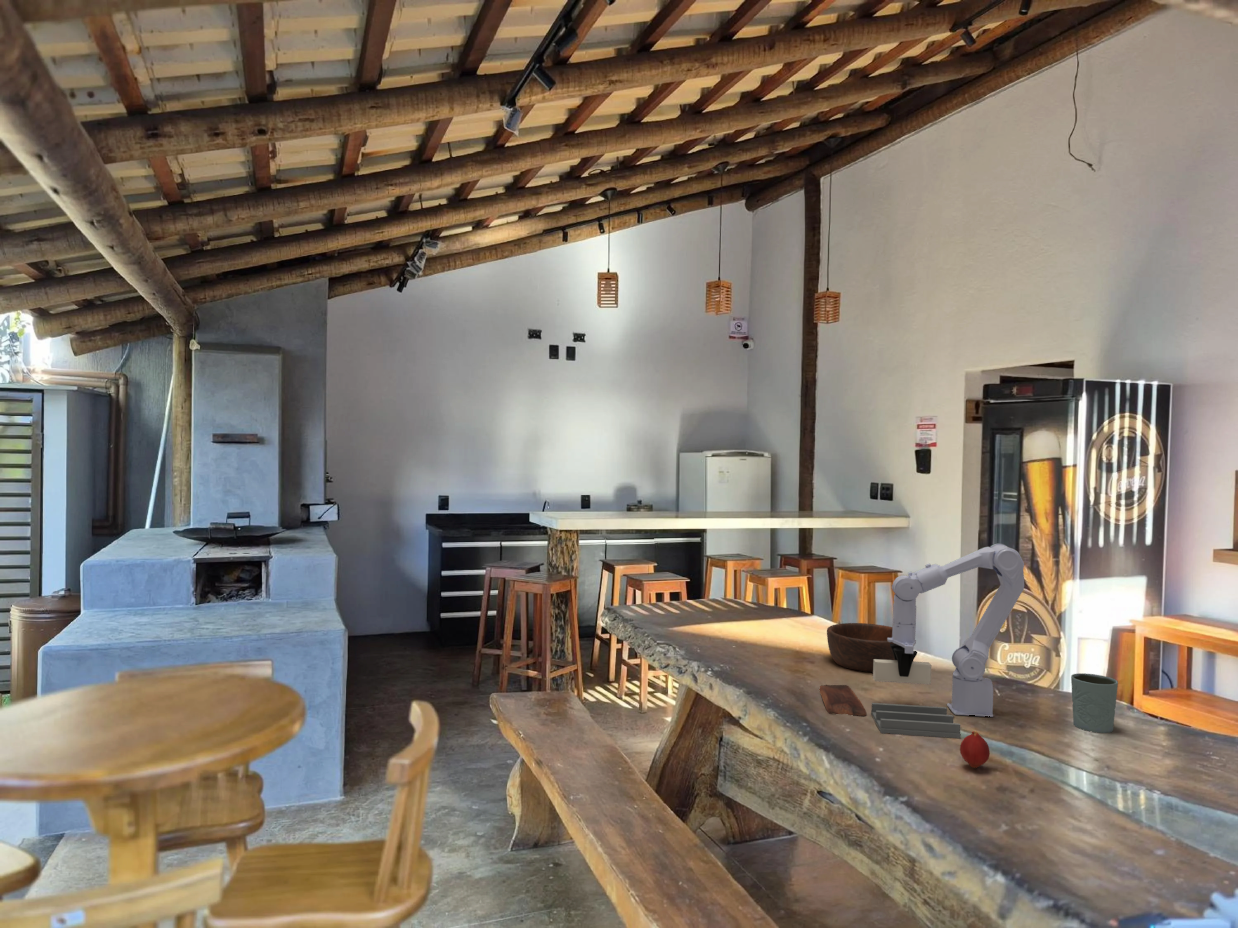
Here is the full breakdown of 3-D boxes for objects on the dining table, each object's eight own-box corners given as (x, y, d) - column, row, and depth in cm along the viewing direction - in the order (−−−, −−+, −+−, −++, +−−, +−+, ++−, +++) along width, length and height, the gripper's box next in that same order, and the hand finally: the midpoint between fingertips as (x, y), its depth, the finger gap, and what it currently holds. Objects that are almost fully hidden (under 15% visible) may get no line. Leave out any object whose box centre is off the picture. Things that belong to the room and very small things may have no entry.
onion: (964, 760, 182) (965, 723, 182) (992, 767, 178) (993, 730, 178) (955, 767, 177) (957, 730, 177) (984, 775, 174) (985, 737, 174)
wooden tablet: (816, 680, 237) (852, 678, 236) (817, 688, 237) (853, 686, 236) (827, 711, 211) (867, 709, 209) (827, 720, 211) (868, 717, 209)
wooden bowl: (825, 671, 250) (827, 637, 250) (825, 651, 274) (826, 620, 274) (914, 679, 244) (915, 644, 244) (906, 657, 269) (907, 625, 268)
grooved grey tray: (945, 718, 209) (945, 706, 209) (960, 738, 196) (961, 725, 195) (871, 713, 212) (871, 701, 212) (881, 732, 198) (881, 720, 198)
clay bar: (928, 681, 219) (928, 662, 219) (930, 684, 216) (931, 665, 216) (872, 677, 221) (873, 659, 220) (874, 681, 218) (875, 662, 217)
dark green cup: (1092, 735, 200) (1094, 685, 199) (1059, 721, 209) (1061, 673, 209) (1126, 732, 202) (1128, 682, 202) (1092, 718, 212) (1094, 671, 212)
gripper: (883, 615, 225) (881, 665, 226) (893, 627, 211) (892, 681, 212) (910, 617, 225) (908, 667, 225) (922, 629, 210) (920, 682, 211)
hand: (902, 674), depth 218 cm, fingers closed on clay bar, 3 cm apart
